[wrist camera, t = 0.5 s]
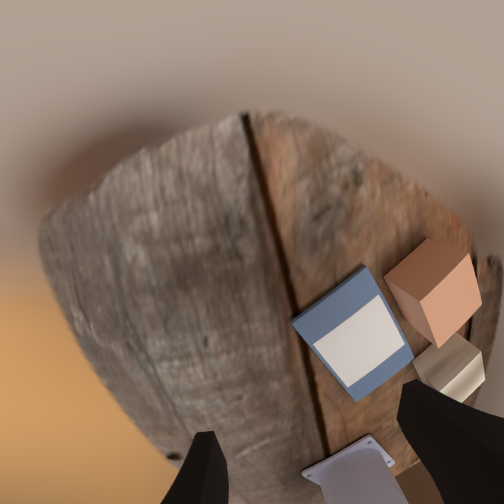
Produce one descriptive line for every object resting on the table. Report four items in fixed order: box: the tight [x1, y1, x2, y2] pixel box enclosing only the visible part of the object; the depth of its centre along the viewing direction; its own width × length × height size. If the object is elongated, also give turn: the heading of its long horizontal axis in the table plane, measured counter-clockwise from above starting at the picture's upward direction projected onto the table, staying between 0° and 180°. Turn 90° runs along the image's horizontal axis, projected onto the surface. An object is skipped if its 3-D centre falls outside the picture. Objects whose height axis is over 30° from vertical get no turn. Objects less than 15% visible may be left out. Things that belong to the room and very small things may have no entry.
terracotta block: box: [383, 238, 482, 348], centre depth 17 cm, size 4×4×4 cm
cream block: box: [412, 332, 485, 403], centre depth 19 cm, size 4×4×4 cm
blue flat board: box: [290, 265, 415, 402], centre depth 19 cm, size 10×6×1 cm, turn 36°
